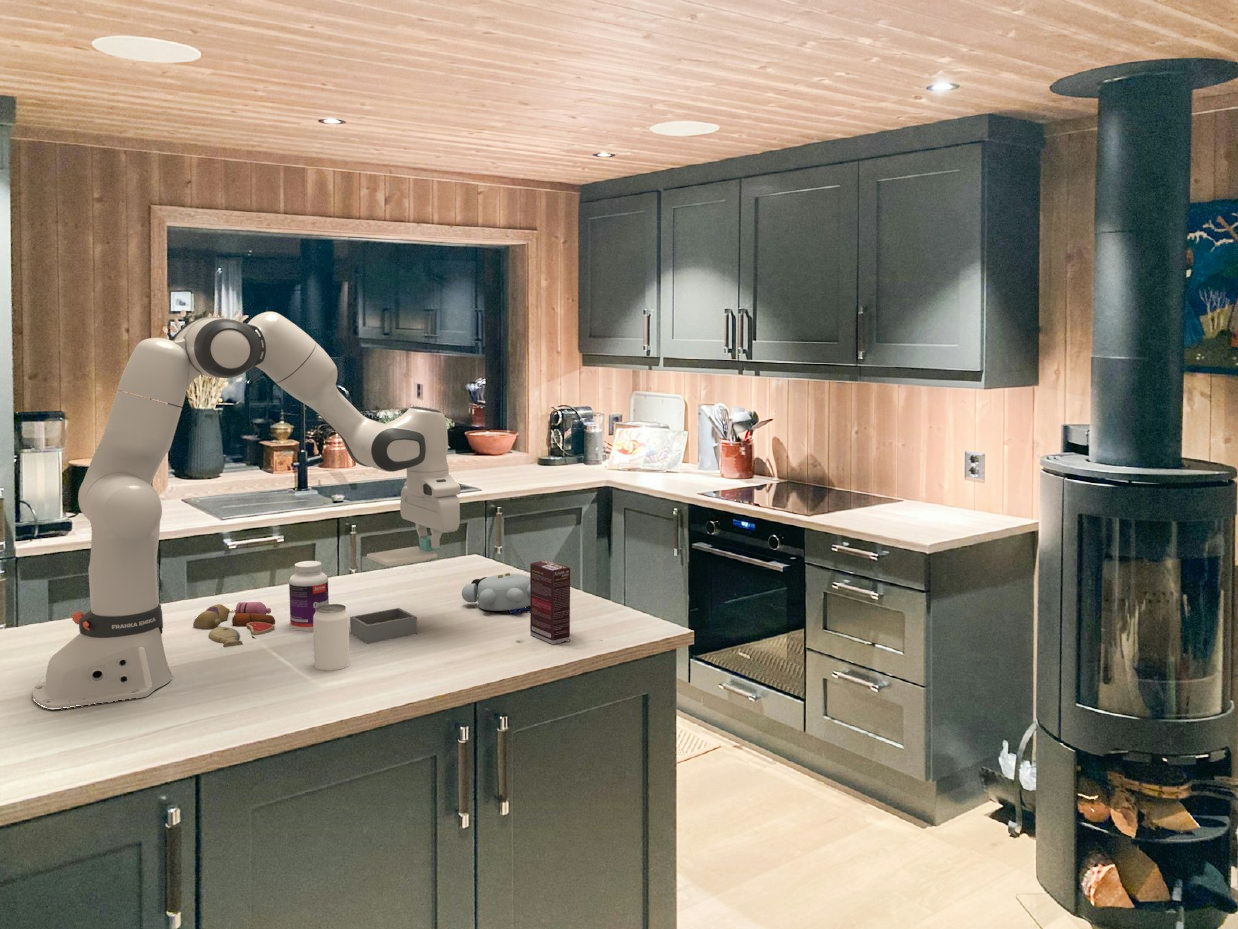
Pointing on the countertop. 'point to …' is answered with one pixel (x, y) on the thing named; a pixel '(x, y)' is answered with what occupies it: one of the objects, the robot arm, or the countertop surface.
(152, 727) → the countertop surface
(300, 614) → the pill bottle
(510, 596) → the figurine
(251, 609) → the toy food set
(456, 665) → the countertop surface
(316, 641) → the can
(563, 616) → the supplement box
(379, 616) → the tub
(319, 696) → the countertop surface
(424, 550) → the lid
